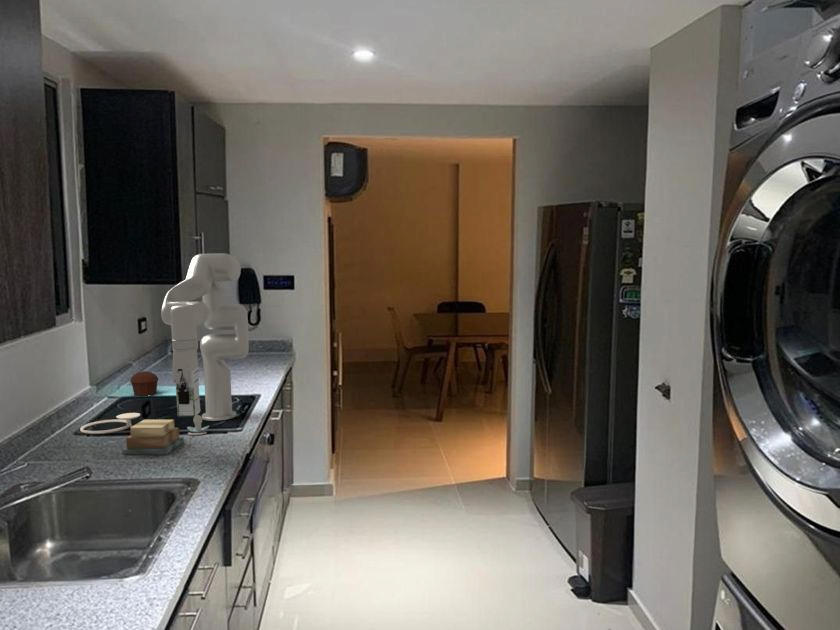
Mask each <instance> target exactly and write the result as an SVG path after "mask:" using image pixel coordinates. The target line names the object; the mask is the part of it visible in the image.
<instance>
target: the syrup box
mask: <svg viewBox="0 0 840 630" xmlns="http://www.w3.org/2000/svg"><path fill="white" fill-rule="evenodd" d="M199 380H200V379H199V374H198V368H195V369H193V370H192V371H191V372H190V381H189V382H188V391H189V402H190V403H189V404H179V399H178V391H177V390H178V388H177V386H176V385H175V394H176V409H177V417H195V416H197V415H199V414H200V412H201V402H200V386H199V385H200V383H199ZM182 381H185V380H184V379H182ZM183 385H184V387H185V384H183Z"/></svg>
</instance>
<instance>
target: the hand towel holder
mask: <svg viewBox="0 0 840 630" xmlns="http://www.w3.org/2000/svg"><path fill="white" fill-rule="evenodd" d="M140 416H141V413H139V412H126V413H122V414H118V415H116V416H115V417H116V419H103V420H99V421H94V422H89V423H85V424H84V425H82V426H81V427H80V429H79V430H80V432H81V433H84V434H86V435H89V434H90V435H101V434H102V435H103V434H110V433H116V432H121V431H124V430H126V429H129V428H131V427H132V426H133V424H132V420H133V419H136V418H139V417H140ZM107 423H125V425H123V426H121V427H118V428H112V429H107V430H85V428H87V427H92V426H94V425H100V424H107Z"/></svg>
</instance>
